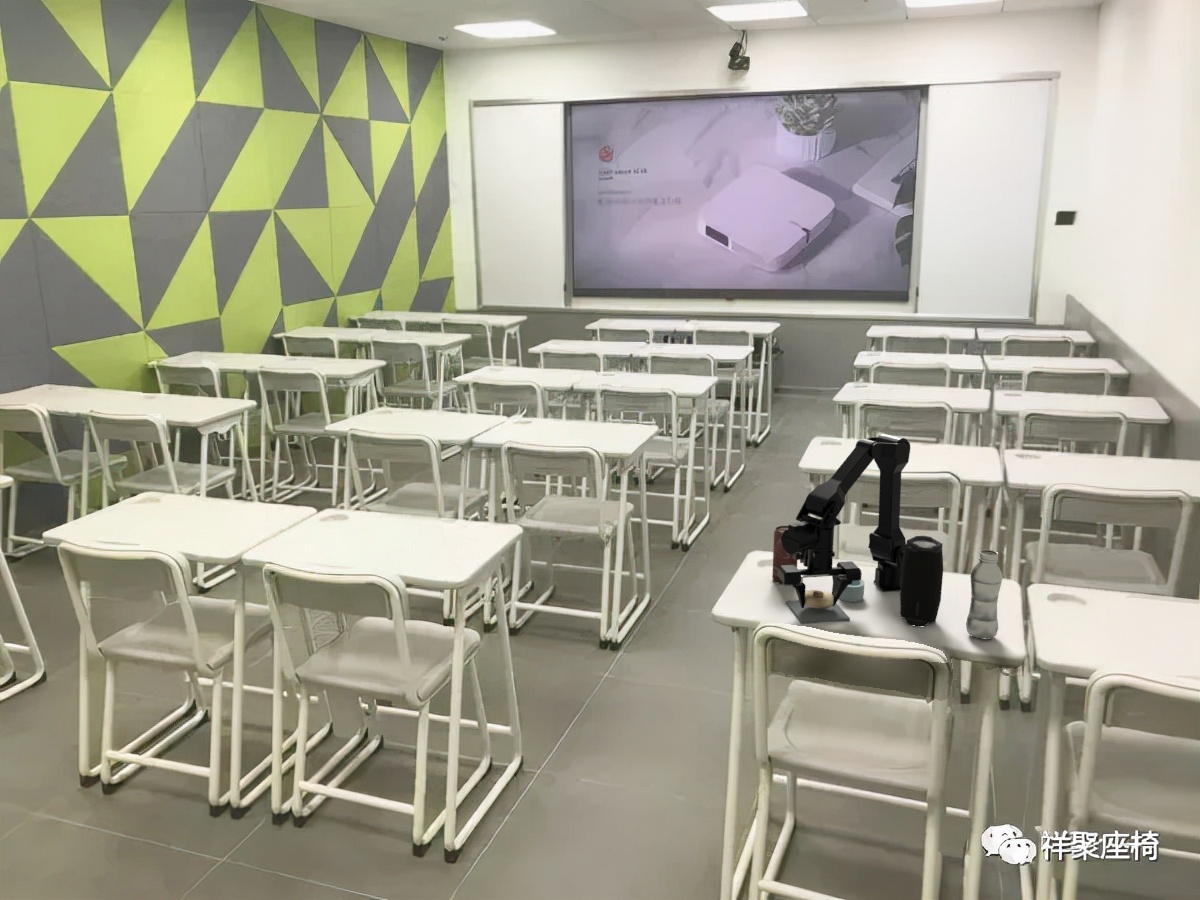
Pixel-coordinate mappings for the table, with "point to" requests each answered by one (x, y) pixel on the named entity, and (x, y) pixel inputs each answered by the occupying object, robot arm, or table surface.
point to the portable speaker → (921, 580)
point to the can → (780, 554)
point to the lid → (818, 599)
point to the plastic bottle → (984, 596)
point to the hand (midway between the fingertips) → (817, 606)
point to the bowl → (853, 592)
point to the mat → (817, 613)
